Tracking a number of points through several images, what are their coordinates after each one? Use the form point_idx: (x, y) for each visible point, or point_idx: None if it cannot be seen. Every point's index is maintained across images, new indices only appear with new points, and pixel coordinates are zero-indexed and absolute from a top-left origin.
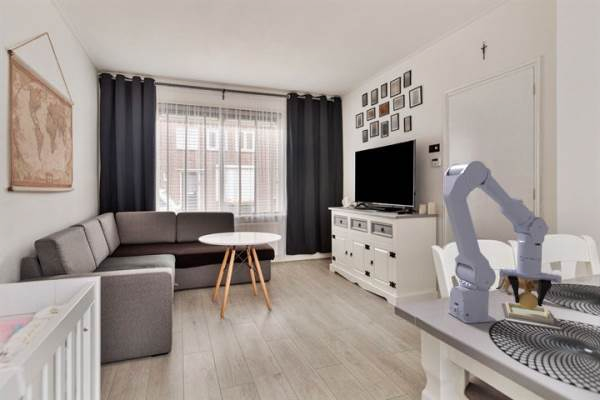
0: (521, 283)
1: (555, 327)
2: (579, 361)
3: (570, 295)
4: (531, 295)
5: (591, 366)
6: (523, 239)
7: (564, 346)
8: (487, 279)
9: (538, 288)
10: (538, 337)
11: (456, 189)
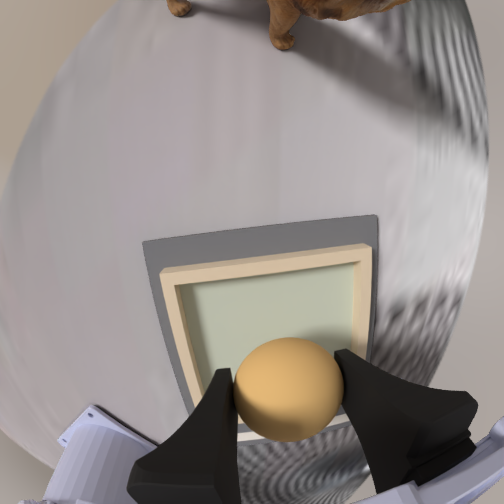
0: None
1: (348, 418)
2: (334, 499)
3: None
4: (311, 436)
5: (345, 499)
6: None
7: (330, 480)
8: None
9: (381, 407)
10: (286, 478)
11: None
